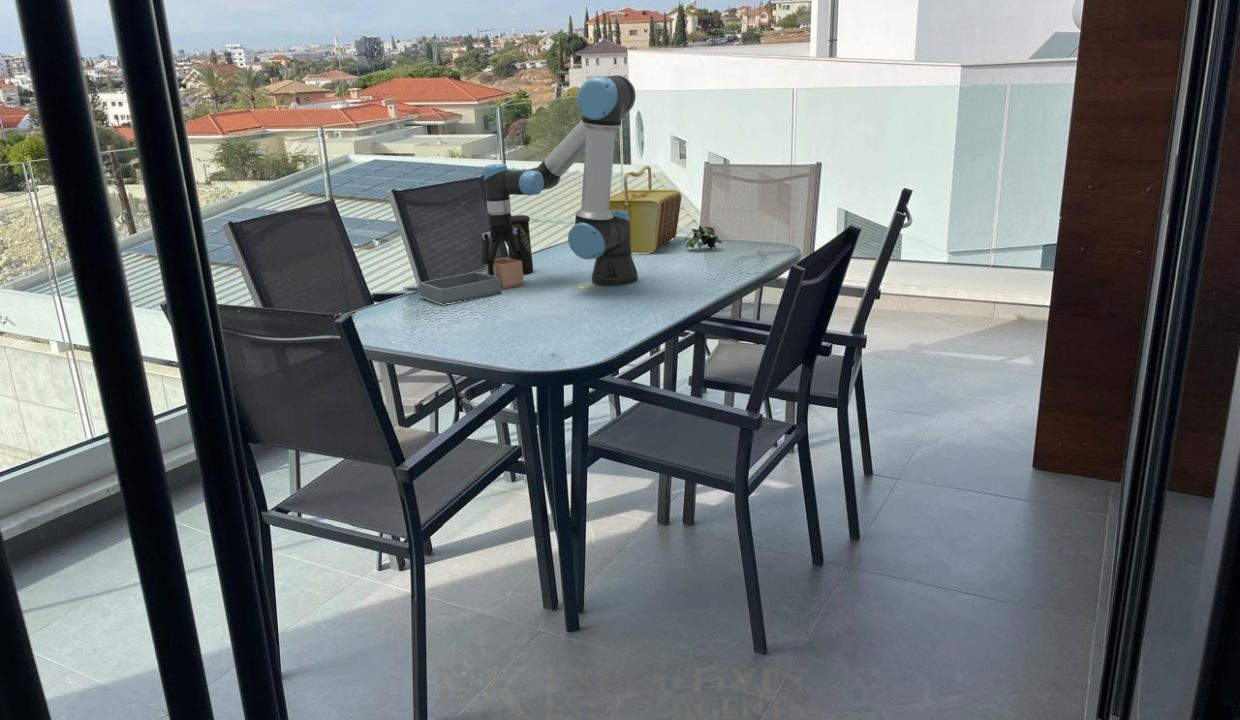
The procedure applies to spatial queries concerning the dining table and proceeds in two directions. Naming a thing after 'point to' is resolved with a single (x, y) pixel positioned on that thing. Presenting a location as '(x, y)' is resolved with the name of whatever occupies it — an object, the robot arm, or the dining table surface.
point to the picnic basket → (648, 214)
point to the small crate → (508, 272)
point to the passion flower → (703, 237)
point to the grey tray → (460, 287)
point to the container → (523, 241)
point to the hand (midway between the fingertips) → (505, 281)
